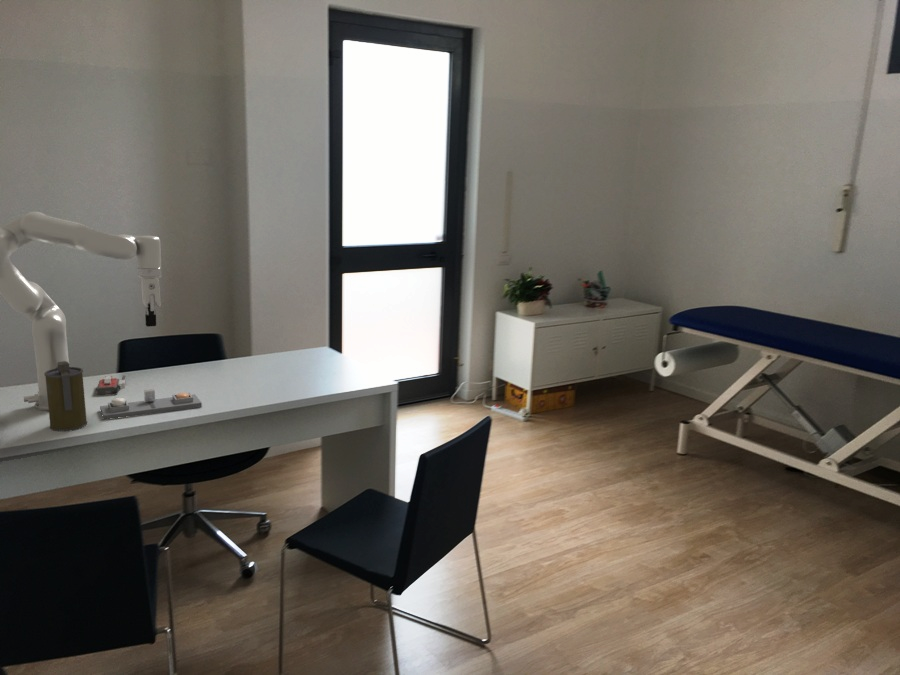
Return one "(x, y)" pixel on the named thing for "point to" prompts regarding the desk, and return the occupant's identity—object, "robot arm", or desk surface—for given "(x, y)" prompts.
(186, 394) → the button right
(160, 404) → the panel
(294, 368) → the desk surface
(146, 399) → the lever
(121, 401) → the button left
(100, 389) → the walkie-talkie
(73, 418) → the canister
